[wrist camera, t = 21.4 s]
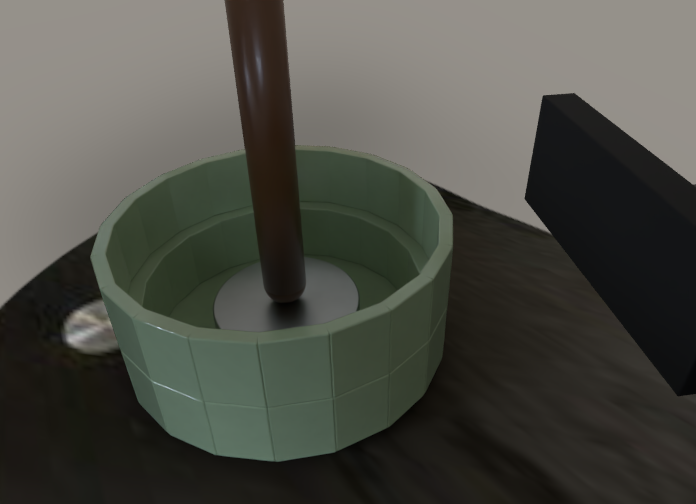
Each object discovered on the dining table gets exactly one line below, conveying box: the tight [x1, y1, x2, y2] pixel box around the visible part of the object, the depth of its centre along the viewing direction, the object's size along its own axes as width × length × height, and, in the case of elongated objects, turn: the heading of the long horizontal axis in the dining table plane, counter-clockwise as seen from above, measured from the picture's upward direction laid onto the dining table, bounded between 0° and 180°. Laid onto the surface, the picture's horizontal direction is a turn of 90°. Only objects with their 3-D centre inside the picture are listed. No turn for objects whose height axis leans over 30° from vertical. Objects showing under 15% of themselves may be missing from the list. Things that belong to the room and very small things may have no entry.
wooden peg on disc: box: [213, 0, 360, 332], centre depth 24 cm, size 7×7×19 cm
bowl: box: [91, 145, 453, 462], centre depth 28 cm, size 15×15×7 cm
